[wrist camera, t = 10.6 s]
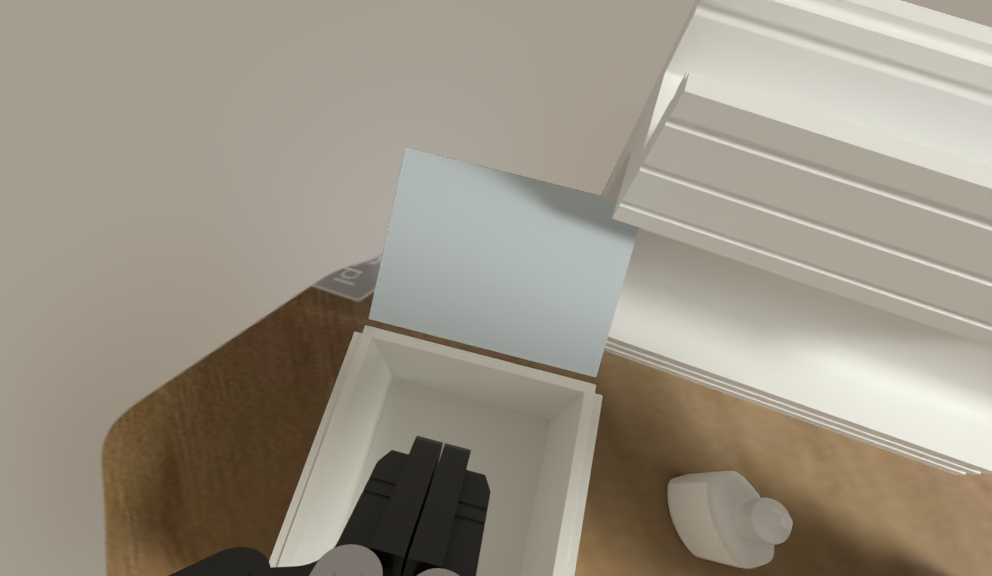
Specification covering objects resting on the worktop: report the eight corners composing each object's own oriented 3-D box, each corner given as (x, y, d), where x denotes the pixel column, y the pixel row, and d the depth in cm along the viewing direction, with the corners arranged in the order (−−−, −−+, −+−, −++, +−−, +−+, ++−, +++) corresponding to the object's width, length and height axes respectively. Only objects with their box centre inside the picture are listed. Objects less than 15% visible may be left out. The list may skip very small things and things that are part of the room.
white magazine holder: (954, 382, 44) (1659, 227, 18) (955, 474, 41) (1802, 446, 15) (573, 251, 46) (722, -53, 20) (548, 330, 43) (684, 91, 17)
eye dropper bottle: (658, 546, 37) (743, 567, 26) (667, 468, 40) (750, 458, 29) (716, 562, 37) (825, 591, 26) (722, 483, 40) (826, 479, 28)
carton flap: (368, 318, 29) (371, 317, 30) (596, 377, 29) (594, 374, 30) (405, 147, 28) (407, 148, 28) (645, 206, 28) (643, 206, 28)
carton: (383, 369, 41) (357, 323, 30) (563, 416, 41) (604, 386, 29) (294, 633, 34) (216, 701, 23) (512, 693, 33) (540, 791, 22)
